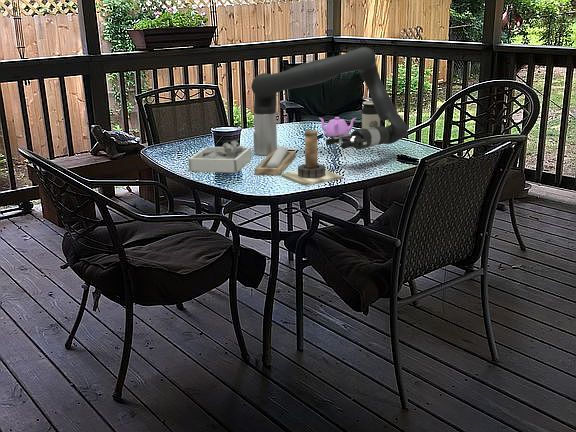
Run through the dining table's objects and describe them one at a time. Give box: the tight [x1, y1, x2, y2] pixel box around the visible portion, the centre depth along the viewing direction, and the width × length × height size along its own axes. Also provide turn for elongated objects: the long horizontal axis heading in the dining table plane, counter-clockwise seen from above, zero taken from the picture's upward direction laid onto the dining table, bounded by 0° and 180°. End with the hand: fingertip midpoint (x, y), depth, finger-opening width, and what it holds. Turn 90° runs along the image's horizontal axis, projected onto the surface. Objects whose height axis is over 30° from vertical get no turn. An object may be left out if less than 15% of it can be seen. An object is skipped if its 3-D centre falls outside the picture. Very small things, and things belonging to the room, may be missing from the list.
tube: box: [266, 145, 289, 168], centre depth 260 cm, size 5×5×25 cm
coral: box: [201, 140, 244, 159], centre depth 259 cm, size 17×14×10 cm
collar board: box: [280, 163, 343, 186], centre depth 240 cm, size 16×16×4 cm
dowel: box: [304, 129, 319, 169], centre depth 238 cm, size 4×4×16 cm
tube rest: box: [254, 150, 297, 176], centre depth 259 cm, size 10×31×2 cm, turn 168°
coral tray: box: [187, 146, 252, 174], centre depth 262 cm, size 19×22×5 cm
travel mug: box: [361, 100, 381, 129], centre depth 294 cm, size 8×8×18 cm
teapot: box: [318, 116, 357, 138], centre depth 313 cm, size 12×14×9 cm
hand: (334, 144), depth 244 cm, fingers open, 8 cm apart
